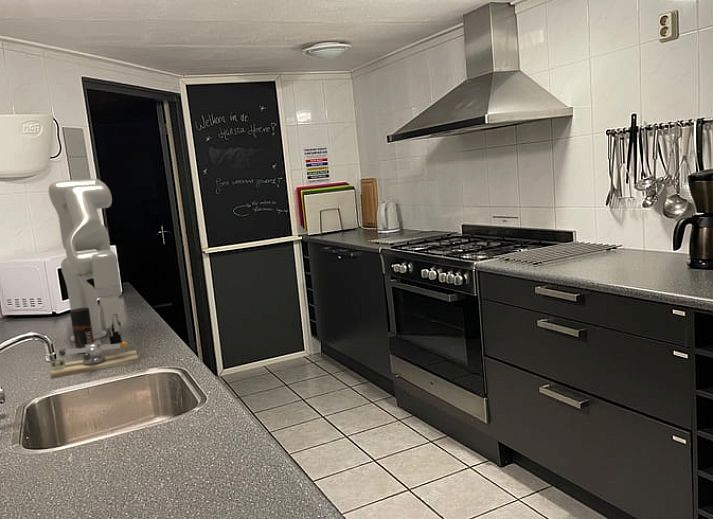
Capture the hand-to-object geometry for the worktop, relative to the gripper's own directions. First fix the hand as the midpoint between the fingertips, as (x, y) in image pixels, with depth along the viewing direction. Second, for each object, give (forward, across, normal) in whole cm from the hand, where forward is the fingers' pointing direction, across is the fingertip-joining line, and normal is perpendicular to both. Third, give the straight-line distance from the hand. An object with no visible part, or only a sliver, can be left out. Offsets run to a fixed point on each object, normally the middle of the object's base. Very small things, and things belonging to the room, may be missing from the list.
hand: (116, 347), depth 193 cm
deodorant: (+5, -20, -7) cm, 22 cm away
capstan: (+3, 0, -7) cm, 7 cm away
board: (+4, 0, -7) cm, 8 cm away
